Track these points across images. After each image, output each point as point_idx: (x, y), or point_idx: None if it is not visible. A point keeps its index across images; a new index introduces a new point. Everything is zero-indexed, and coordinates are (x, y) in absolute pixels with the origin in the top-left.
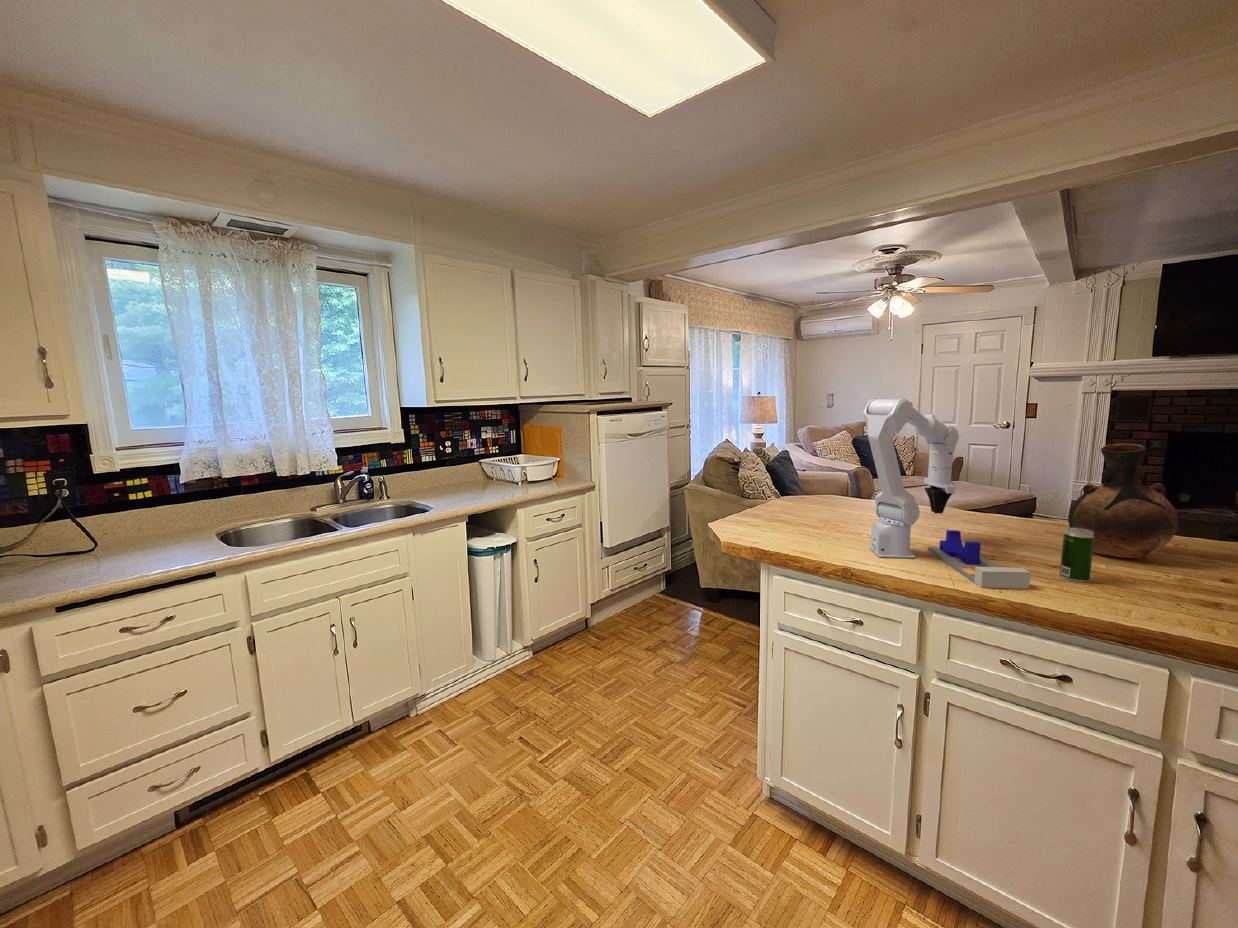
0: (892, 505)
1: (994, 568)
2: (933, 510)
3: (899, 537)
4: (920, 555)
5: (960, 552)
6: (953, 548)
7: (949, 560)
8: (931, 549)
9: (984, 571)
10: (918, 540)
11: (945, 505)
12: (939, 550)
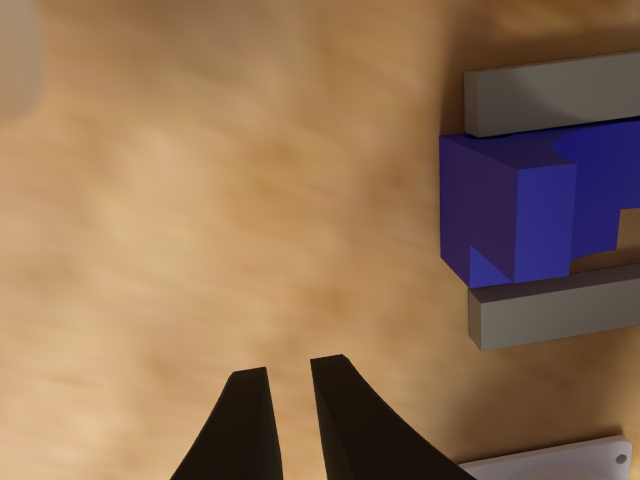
0: None
1: None
2: (280, 467)
3: None
4: (567, 396)
5: (626, 176)
6: (574, 211)
7: None
8: (533, 340)
9: None
10: (212, 340)
11: (394, 412)
12: (569, 302)
